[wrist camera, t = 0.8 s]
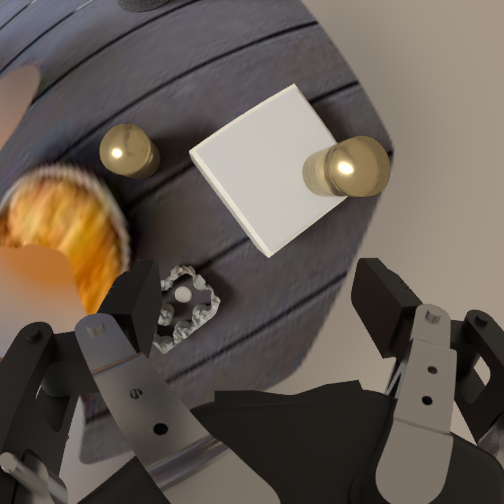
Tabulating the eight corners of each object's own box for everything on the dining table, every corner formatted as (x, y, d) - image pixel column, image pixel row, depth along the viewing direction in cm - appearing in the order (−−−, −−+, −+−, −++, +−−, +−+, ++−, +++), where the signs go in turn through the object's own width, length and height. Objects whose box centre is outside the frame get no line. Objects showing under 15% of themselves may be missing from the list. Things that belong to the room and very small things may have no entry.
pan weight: (292, 167, 30) (326, 155, 22) (328, 142, 30) (369, 124, 22) (319, 206, 32) (360, 209, 23) (352, 180, 32) (400, 176, 23)
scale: (191, 159, 35) (188, 150, 28) (283, 99, 36) (299, 79, 29) (257, 248, 39) (269, 258, 32) (342, 184, 39) (369, 181, 32)
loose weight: (115, 157, 34) (90, 146, 25) (146, 132, 34) (130, 113, 25) (136, 188, 35) (117, 184, 26) (168, 162, 35) (158, 151, 26)
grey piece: (186, 255, 38) (185, 261, 34) (223, 298, 39) (226, 309, 35) (128, 305, 37) (120, 316, 33) (165, 345, 39) (162, 359, 35)
